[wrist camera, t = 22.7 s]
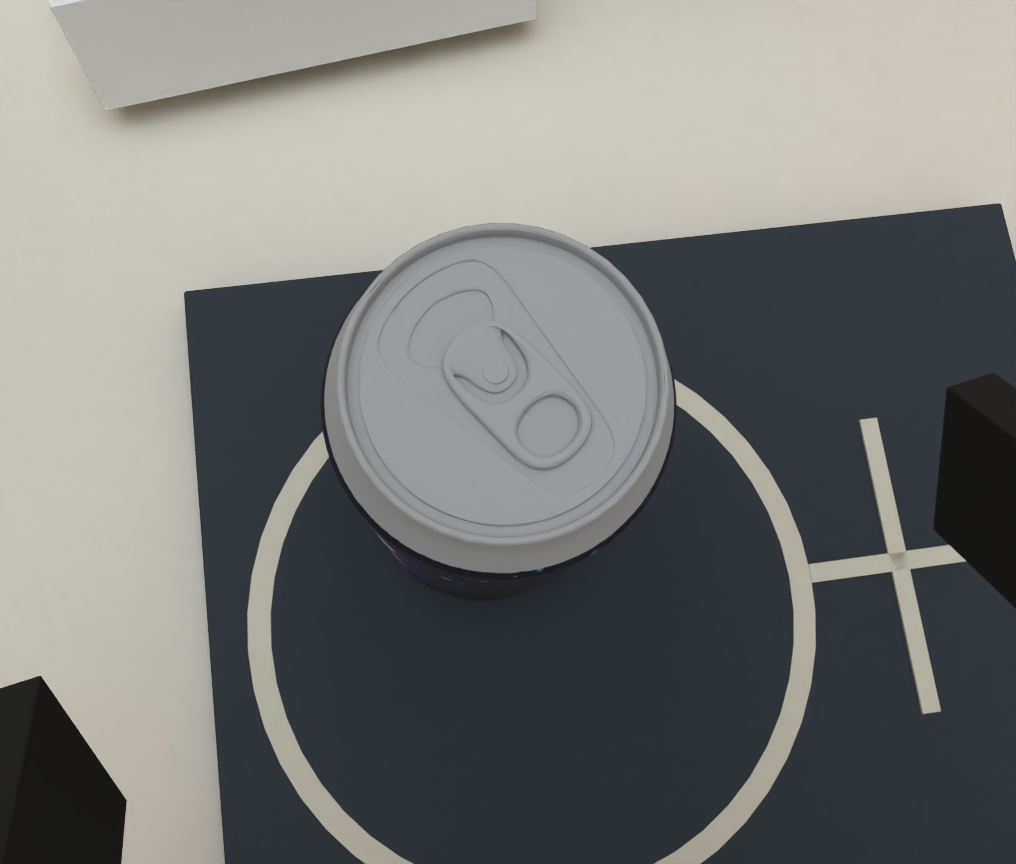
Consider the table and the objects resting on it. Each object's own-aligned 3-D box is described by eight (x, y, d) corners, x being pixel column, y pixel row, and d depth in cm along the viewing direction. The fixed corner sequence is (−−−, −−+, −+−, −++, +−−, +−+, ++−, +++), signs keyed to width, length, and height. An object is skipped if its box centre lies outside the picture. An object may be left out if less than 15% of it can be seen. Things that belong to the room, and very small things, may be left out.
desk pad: (249, 1067, 23) (239, 1089, 22) (192, 302, 27) (181, 289, 26) (1159, 911, 25) (1190, 923, 24) (983, 216, 29) (1004, 200, 28)
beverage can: (486, 351, 26) (510, 127, 15) (630, 499, 26) (776, 387, 14) (332, 490, 25) (225, 368, 14) (478, 647, 25) (497, 660, 13)
